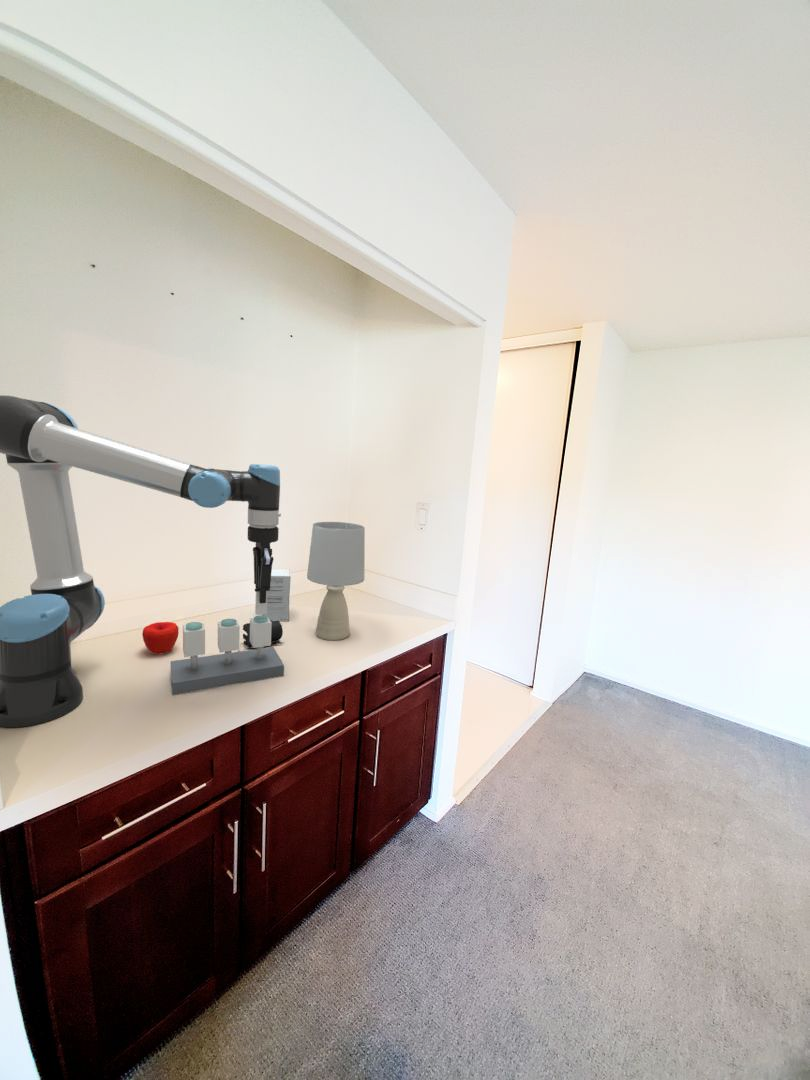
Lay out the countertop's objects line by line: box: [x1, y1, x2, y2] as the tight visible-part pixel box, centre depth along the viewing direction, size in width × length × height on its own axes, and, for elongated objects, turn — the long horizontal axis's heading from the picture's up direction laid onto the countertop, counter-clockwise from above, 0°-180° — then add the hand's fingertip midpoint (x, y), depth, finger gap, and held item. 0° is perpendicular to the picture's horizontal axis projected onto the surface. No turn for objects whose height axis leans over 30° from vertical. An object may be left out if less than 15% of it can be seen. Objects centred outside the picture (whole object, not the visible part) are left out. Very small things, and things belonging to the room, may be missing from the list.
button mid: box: [217, 618, 241, 653], centre depth 109 cm, size 5×5×7 cm
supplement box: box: [261, 568, 291, 622], centre depth 152 cm, size 10×9×17 cm
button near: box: [182, 621, 206, 658], centre depth 105 cm, size 5×5×7 cm
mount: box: [170, 646, 285, 696], centre depth 111 cm, size 26×12×8 cm, turn 120°
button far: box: [249, 614, 272, 649], centre depth 113 cm, size 5×5×7 cm
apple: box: [141, 621, 179, 655], centre depth 120 cm, size 9×9×8 cm
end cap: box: [242, 620, 284, 649], centre depth 130 cm, size 10×7×7 cm
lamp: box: [306, 521, 366, 641], centre depth 139 cm, size 19×19×37 cm
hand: (261, 613), depth 113 cm, fingers closed
